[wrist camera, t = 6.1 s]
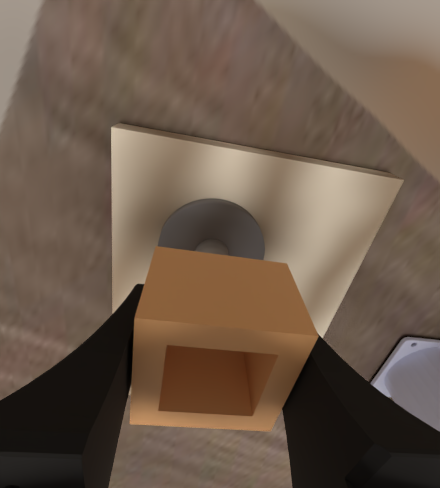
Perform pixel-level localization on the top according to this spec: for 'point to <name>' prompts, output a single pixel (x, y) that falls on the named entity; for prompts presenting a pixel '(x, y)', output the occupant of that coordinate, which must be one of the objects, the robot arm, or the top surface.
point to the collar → (217, 341)
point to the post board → (243, 211)
